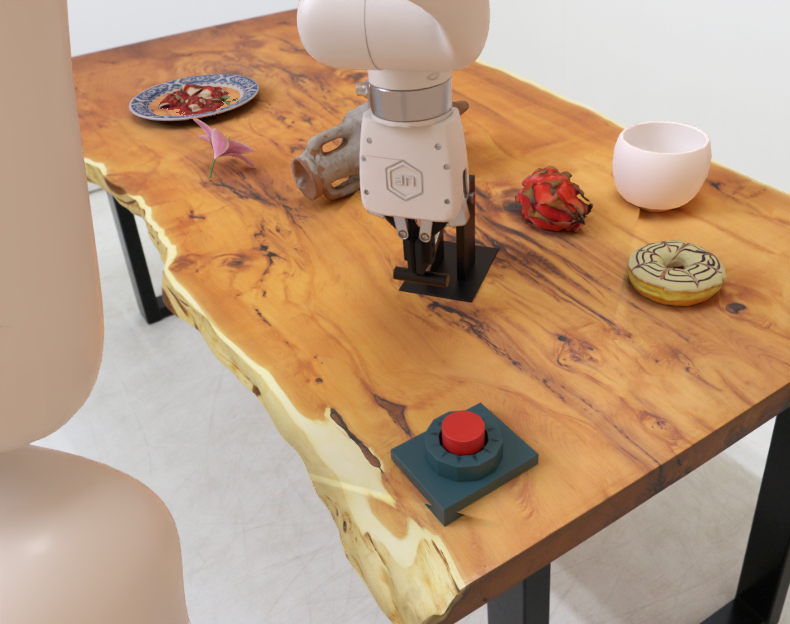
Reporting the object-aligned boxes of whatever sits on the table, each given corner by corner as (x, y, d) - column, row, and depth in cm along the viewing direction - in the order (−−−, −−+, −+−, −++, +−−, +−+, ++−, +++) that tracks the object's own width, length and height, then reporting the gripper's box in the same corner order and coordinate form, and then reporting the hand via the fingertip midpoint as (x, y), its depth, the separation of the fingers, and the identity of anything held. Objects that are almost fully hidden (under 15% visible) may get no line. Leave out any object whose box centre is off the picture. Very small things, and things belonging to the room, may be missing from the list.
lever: (447, 292, 76) (444, 280, 74) (395, 284, 78) (390, 272, 76) (478, 195, 82) (475, 181, 80) (428, 189, 84) (425, 176, 82)
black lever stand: (472, 309, 82) (471, 210, 74) (399, 297, 85) (391, 200, 77) (498, 256, 91) (500, 162, 83) (431, 246, 94) (427, 155, 86)
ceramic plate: (104, 120, 141) (99, 105, 139) (193, 79, 159) (190, 65, 157) (201, 138, 130) (198, 122, 128) (286, 91, 147) (283, 77, 146)
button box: (444, 527, 58) (443, 495, 56) (391, 466, 64) (388, 435, 61) (537, 471, 62) (540, 439, 60) (480, 418, 68) (480, 387, 65)
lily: (262, 190, 113) (271, 129, 111) (186, 178, 108) (194, 113, 106) (244, 185, 123) (252, 129, 122) (174, 174, 118) (181, 115, 117)
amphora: (497, 81, 106) (313, 90, 91) (492, 188, 112) (319, 213, 97) (444, 77, 117) (272, 84, 103) (442, 175, 123) (280, 195, 108)
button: (459, 462, 59) (458, 448, 58) (433, 437, 61) (433, 422, 60) (493, 443, 60) (493, 429, 59) (467, 419, 63) (467, 404, 62)
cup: (637, 175, 106) (646, 112, 100) (717, 199, 98) (732, 132, 93) (590, 206, 99) (596, 140, 94) (672, 234, 92) (685, 165, 86)
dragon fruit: (527, 214, 102) (577, 263, 94) (489, 197, 96) (538, 247, 88) (564, 164, 99) (619, 211, 91) (526, 144, 93) (581, 191, 85)
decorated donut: (734, 276, 83) (741, 249, 81) (702, 323, 77) (709, 294, 75) (647, 252, 89) (652, 225, 87) (611, 293, 82) (615, 266, 80)
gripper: (319, 106, 65) (342, 275, 75) (478, 118, 60) (478, 297, 71) (353, 79, 70) (369, 240, 81) (501, 88, 65) (498, 258, 76)
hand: (420, 266), depth 76 cm, fingers closed
